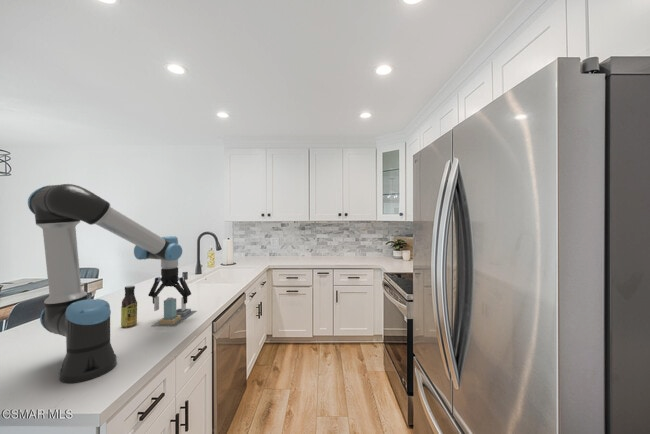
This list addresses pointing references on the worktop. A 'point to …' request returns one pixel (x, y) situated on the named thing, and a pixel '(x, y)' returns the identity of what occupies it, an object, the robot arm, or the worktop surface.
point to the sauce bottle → (129, 308)
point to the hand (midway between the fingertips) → (170, 310)
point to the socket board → (175, 319)
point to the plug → (169, 308)
